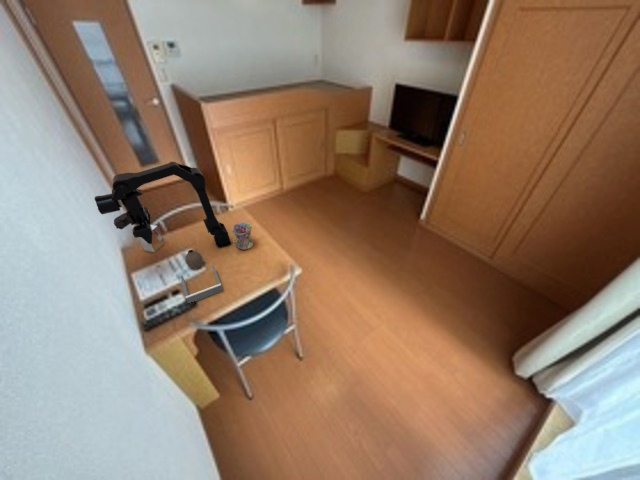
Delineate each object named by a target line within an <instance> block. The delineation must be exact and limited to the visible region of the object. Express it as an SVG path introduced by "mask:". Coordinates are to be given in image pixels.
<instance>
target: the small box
mask: <svg viewBox="0 0 640 480" xmlns="http://www.w3.org/2000/svg"><path fill="white" fill-rule="evenodd" d="M150 226H151V228H152V232H153V233H152V243H151V244H148V243H147V242H146V241H145V240H144V239H143V238H142V237H138V238H137V239H138V240H139V242H140V244H141V246H142V248H143V249H144V251H145V252H152V253H156V252H157V251H158V250H159V249H160V248H161V247H162V246H163V245H164V244H165V243H166V241H165V238H164V237H163V234H162V232H161V230H160V228H159V226H158V225H154V224H150Z"/></svg>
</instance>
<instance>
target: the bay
mask: <svg viewBox="0 0 640 480" xmlns="http://www.w3.org/2000/svg"><path fill="white" fill-rule="evenodd" d="M211 268H212V270H213V271H212V272H213V273H214V275H215V279H216V281H217V284H215V285H213V286H210V287H208V288H204V289H202V290H199V291H196V292H194V293H191V294H189V290H188V288H187V287H188V286H187V283H186V280H185V277H184V276H183V275H180V279H181V283H182V287H183V293H184V297H185V300H186V302H187V304H188V303H190V304H192V303H191V302H193V303H196V302H198V301H201V300H204V299H205V298H207V297H208V298H209V297H211V296H214V295H216V294H219V293H221V292H224V289H223V286H222V283H221V281H220V278H219V276H218V273H217V270H216V267H215V266H214V264H212V265H211ZM194 301H195V302H194Z"/></svg>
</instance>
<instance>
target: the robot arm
mask: <svg viewBox="0 0 640 480" xmlns="http://www.w3.org/2000/svg"><path fill="white" fill-rule="evenodd" d="M171 176H176V177H178V178H180V179H182V180H184V181H185V182H189V183H190V185H191V186H192V188H193V189H194V190H195V192H196V194H197V196H198V199H199V202H200V204H201V206H202V209H203V212H204V215H205V218H204V219H202V220H203V223H204V226H205V228H206V231H207V233H208V234H210V235H211V236H213V241H214V243H215V246H216V247H217V248H218V249H221V248H224V247H227V246H230V245H232V242H231V239H230V236H229V231H228V230H227V227H226V226H225V224H224V223H223V222H220V221H219V220H218V218H217V217H216V215H215V212H214V210H213V207H212V204H211V201H210V199H209V197H208V196H209V195H208V193H207V189H206V179H205V177H204V176H205V175H204V174H203V173H202V171H201V169H200V168H197V167H190V166H188V165H185V164H181V163H178V162H176V161H170V162H169V163H165V164H161V165H159V166H155V167H152V168H149V169H146V170H142V171H139V172H125V173H118V174H115V175H114V176H113V178H112V189H111V193H108V194H104V195H95V196H94V201H95V203H96V206H97V210H98V212H99V213H100V214H101V215H106V214H111V213H115V212H119V211H121V208H122V207H124V209H125V211H126V212H124V213H122V214H120V215H118V216H117V217H115V218H114V219H113V224H114V226H115V227H116V229H119V230H124V229H125V228H126V227H128V226H129V225H131V226H133V227H132V229H131V231H132V235H133V237H134V239H135V238H136V239H139V238H138V237H142V238H143V239H144V240H145V241H146V242H147V243H148V244H151V243H152V233H153V232H152V228H151V226H150V225H151V213H150V210H149V208H148V207H147V206H144V204H143V203H142V202H141V199H140V198H139V196H143V190H141V189H139V188H141V187H142V186H143V185H146V184H149V183H153V182H155V181H158V180H159V181H160V180H163V179H165V178H168V177H171ZM134 225H135V226H134Z"/></svg>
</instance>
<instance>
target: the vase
mask: <svg viewBox="0 0 640 480" xmlns="http://www.w3.org/2000/svg"><path fill="white" fill-rule="evenodd" d="M203 260H204V258H203V255H202V254H201V253H200V252H198V251H195V250H194V249H188V251H187V253H186V255H185V263H186V265H187V266H188V267H189V268H191V269H193V270H194V269H199V268H200V267H201V266H202V265H203V262H204V261H203Z"/></svg>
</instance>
